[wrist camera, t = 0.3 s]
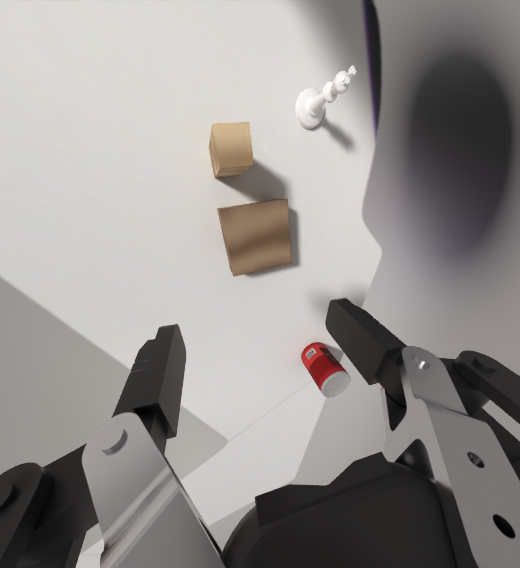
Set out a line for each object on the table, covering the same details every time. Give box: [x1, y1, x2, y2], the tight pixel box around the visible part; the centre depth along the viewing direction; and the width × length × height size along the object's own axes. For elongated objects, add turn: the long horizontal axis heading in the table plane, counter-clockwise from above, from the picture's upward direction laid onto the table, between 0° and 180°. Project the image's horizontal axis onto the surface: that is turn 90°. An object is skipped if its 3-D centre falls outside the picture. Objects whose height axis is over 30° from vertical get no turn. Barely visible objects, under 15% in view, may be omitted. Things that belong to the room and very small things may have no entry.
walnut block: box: [217, 199, 291, 276], centre depth 33 cm, size 11×11×5 cm
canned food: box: [301, 343, 350, 397], centre depth 49 cm, size 8×8×11 cm
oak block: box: [209, 122, 254, 178], centre depth 25 cm, size 4×4×10 cm
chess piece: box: [295, 65, 356, 129], centre depth 25 cm, size 5×5×10 cm
